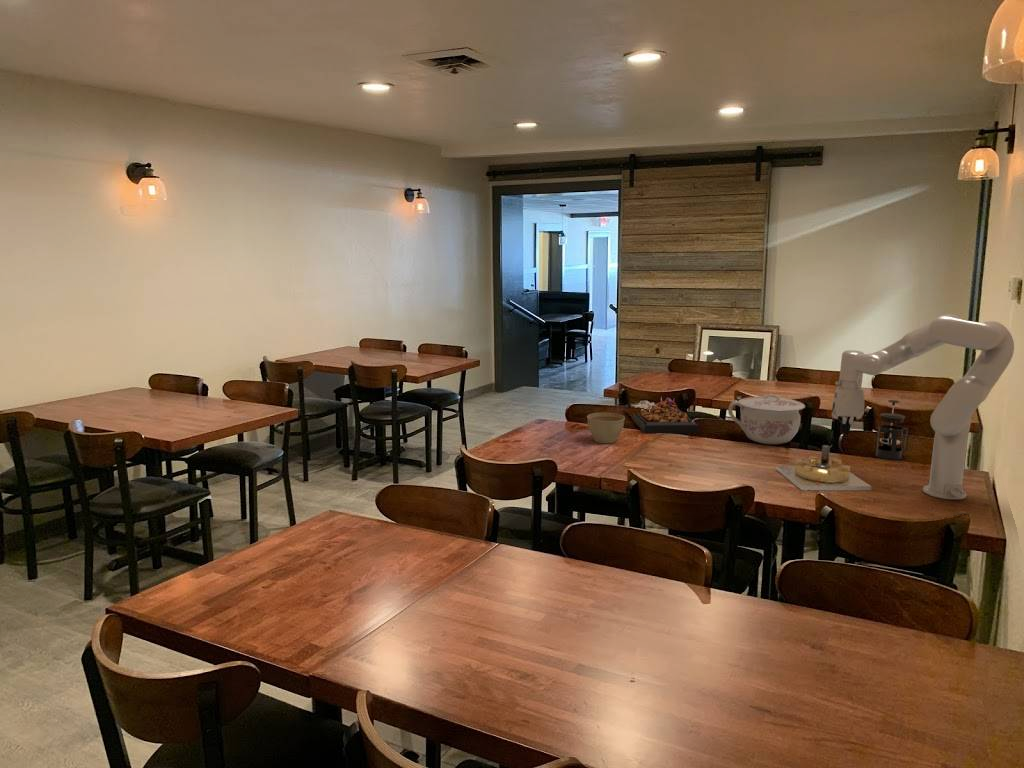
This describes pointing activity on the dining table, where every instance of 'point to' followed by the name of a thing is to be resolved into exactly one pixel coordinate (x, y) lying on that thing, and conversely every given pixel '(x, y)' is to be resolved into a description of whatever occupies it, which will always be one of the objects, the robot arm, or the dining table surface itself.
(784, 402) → the chamber pot
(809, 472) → the gold disc with post
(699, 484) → the dining table surface
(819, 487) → the base plate
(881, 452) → the french press
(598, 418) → the planter bowl
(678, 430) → the food platter
